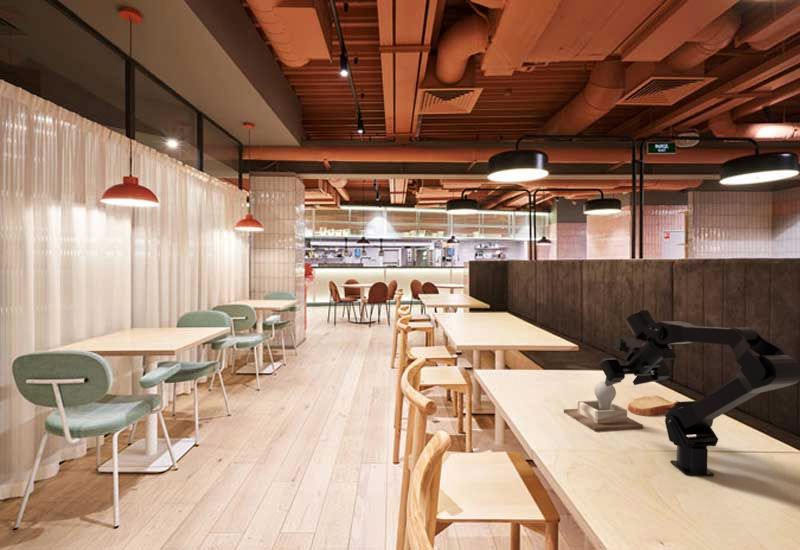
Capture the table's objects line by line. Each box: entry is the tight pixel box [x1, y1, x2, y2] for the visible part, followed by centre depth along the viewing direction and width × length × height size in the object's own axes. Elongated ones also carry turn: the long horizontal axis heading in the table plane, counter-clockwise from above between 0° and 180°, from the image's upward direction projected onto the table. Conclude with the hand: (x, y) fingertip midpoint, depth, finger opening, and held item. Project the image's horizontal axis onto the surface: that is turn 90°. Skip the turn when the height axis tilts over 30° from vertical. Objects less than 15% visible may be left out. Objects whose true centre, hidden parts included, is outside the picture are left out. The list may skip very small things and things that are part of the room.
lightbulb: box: [593, 381, 617, 410], centre depth 134 cm, size 6×6×11 cm
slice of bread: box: [627, 395, 680, 417], centre depth 145 cm, size 18×18×4 cm
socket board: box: [563, 399, 644, 432], centre depth 134 cm, size 16×16×4 cm
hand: (620, 384), depth 126 cm, fingers open, 9 cm apart
